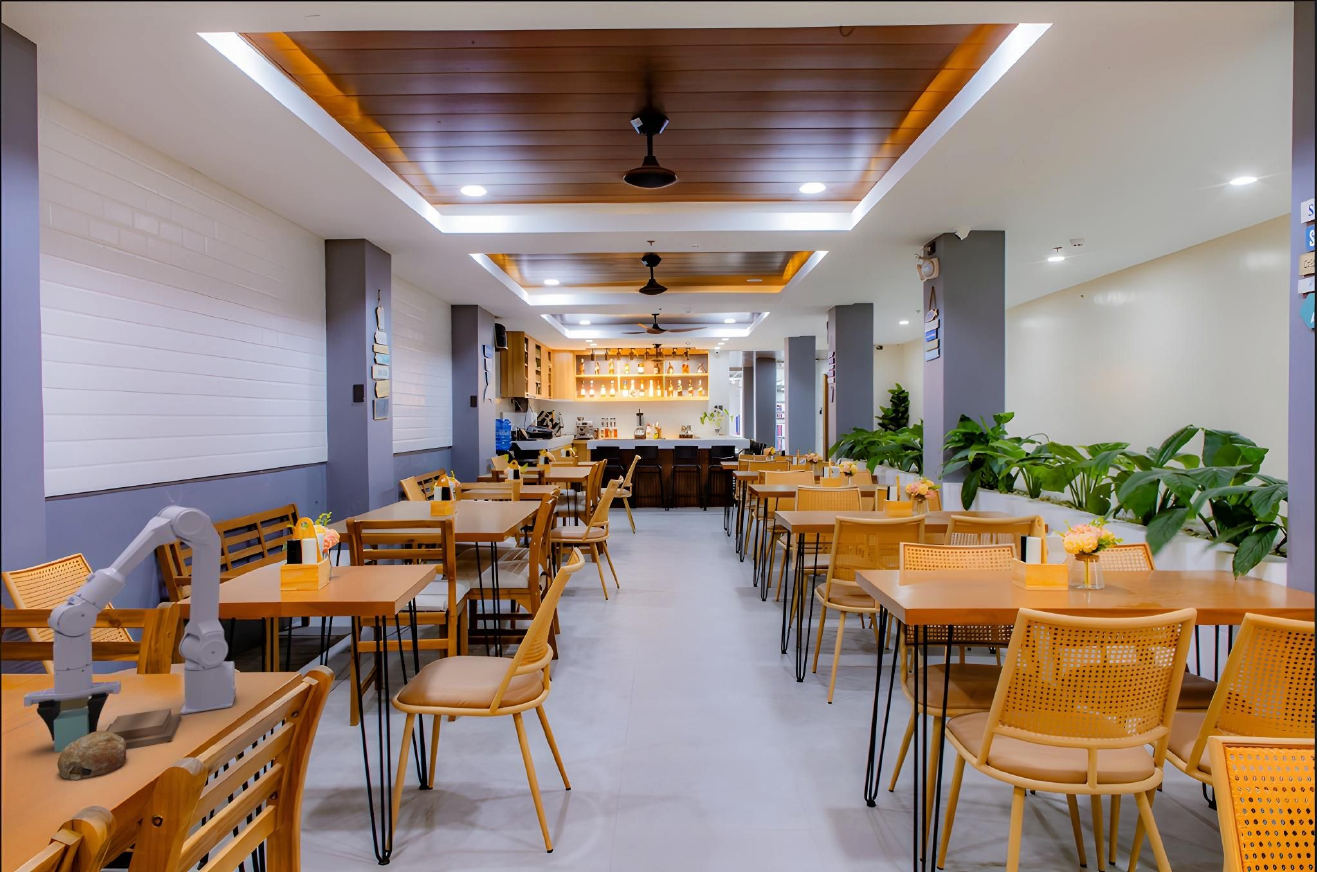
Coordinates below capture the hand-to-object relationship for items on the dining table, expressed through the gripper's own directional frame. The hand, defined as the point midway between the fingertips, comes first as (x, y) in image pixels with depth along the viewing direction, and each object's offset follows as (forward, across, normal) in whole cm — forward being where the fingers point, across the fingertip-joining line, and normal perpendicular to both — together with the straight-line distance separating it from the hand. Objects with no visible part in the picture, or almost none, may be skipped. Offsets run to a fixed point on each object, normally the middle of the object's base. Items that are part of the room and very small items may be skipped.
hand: (74, 735), depth 139 cm
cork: (+2, +6, -23) cm, 24 cm away
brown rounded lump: (+2, -6, +13) cm, 14 cm away
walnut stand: (+2, -10, +1) cm, 11 cm away
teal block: (+2, 0, 0) cm, 2 cm away
